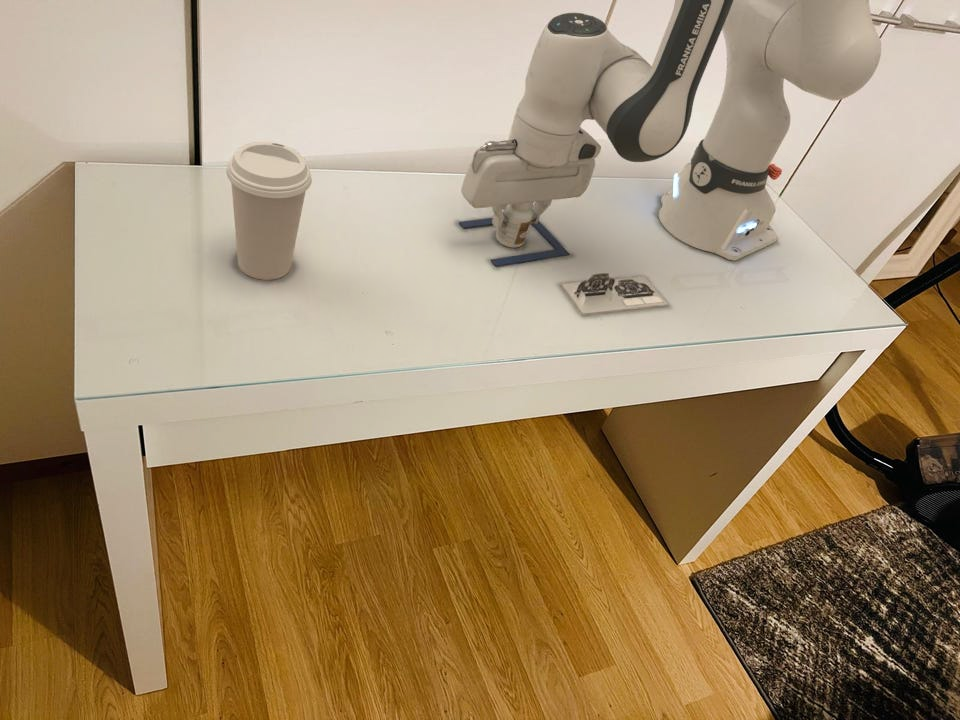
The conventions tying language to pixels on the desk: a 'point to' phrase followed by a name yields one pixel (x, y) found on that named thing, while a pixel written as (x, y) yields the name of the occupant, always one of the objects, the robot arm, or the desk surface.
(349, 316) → the desk surface
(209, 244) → the desk surface
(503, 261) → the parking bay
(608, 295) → the car cutout
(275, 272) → the coffee cup
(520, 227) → the pill bottle
